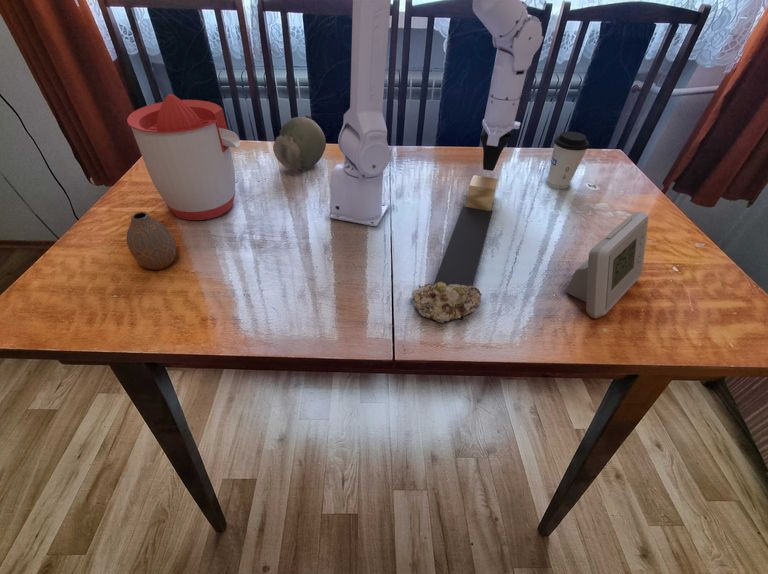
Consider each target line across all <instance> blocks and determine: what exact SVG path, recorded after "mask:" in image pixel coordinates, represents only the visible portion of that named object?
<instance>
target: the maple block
mask: <svg viewBox="0 0 768 574" xmlns="http://www.w3.org/2000/svg"><path fill="white" fill-rule="evenodd" d="M498 182H499V178H494V177H489V176H481V175H476V174H474V175H472V177H471V180H470V183H469V185H468V190H467V195H466V201H465V205H464V206H465V207H469V208H475V209H481V210H487V211H490V210H492V206H493V203H494V199H495V194H496V189H497V186H498Z"/></svg>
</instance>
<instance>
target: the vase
mask: <svg viewBox="0 0 768 574" xmlns="http://www.w3.org/2000/svg"><path fill="white" fill-rule="evenodd" d="M126 245H127V248H128V251H129V253H130V254H131V256H132V258H133V259H134V260H135V262H136V263H137V264H139V265H141V266H142V267H144V268H146V269H149V270H153V271H156V270H162V269H163V270H164V269H165V268H168V267H169V266H170V265H171V264H172V263H173V262H174V260H175V258H176V256H177V245H176V241H175V238H174V236H173V234H172V232H171V231H170V229H169V228H167V226H166V225H165V224H163V223H162V222H160V221H159V220H157V219H155V218H154V217H152V216H151V215H150V214H149V213H148V212H146V211H137V212H134V213H133V214H132V215H131V217H130V223H129V226H128V228H127V231H126Z"/></svg>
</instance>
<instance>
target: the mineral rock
mask: <svg viewBox="0 0 768 574" xmlns="http://www.w3.org/2000/svg"><path fill="white" fill-rule="evenodd" d="M411 296H412V304H413V306H414V307H415V308H416V309H417V311H418V314H419V315H421V316H422V317H425V318H426V319H431V320H434V321H436V322H437V323H445V322H449V321H451V320H459V319H458V318H460V317H462V316H464V317H465V316H467V315H468V314H472V313H474V312H475V311H476V308H477V307H478V306H480V304H481V301H482V293H481V292H480V289H479V288H478V287H476V286H473V285H472V286H471V285H470V286H464V285H458V284H451V285H449V286H446V284H445V283H443V282H438V283H436V284H435V285H433V284H432V283H427V284H425V285H422V286H420V287H419V288H418V289H415V290H413V291H412V292H411Z"/></svg>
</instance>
